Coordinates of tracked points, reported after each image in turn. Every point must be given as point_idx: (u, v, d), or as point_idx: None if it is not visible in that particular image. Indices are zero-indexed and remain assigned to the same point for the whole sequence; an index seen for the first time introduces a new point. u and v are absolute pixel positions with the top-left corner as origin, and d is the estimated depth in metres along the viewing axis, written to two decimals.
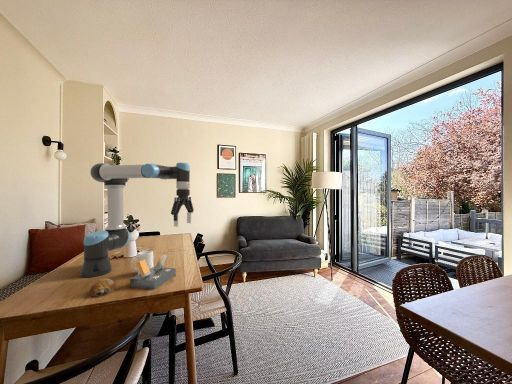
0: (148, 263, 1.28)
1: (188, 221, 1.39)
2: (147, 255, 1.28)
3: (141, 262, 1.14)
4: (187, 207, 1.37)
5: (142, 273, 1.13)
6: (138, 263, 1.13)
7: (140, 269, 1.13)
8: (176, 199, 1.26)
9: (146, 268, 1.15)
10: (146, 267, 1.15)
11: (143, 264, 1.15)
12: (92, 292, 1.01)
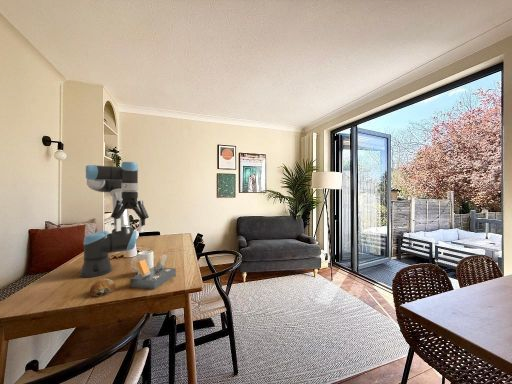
0: (148, 263, 1.28)
1: None
2: (147, 255, 1.28)
3: (141, 262, 1.14)
4: None
5: (142, 273, 1.13)
6: (138, 263, 1.13)
7: (140, 269, 1.13)
8: None
9: (146, 268, 1.15)
10: (146, 267, 1.15)
11: (143, 264, 1.15)
12: (92, 292, 1.01)
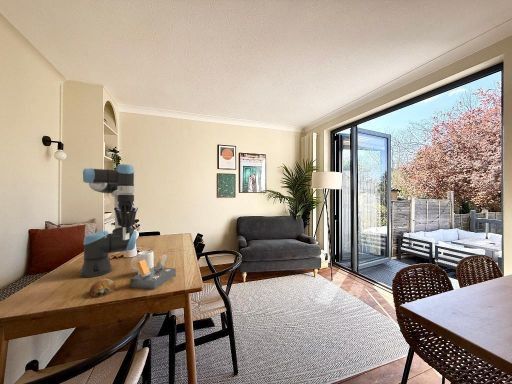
0: (148, 263, 1.28)
1: None
2: (147, 255, 1.28)
3: (141, 262, 1.14)
4: None
5: (142, 273, 1.13)
6: (138, 263, 1.13)
7: (140, 269, 1.13)
8: None
9: (146, 268, 1.15)
10: (146, 267, 1.15)
11: (143, 264, 1.15)
12: (92, 292, 1.01)
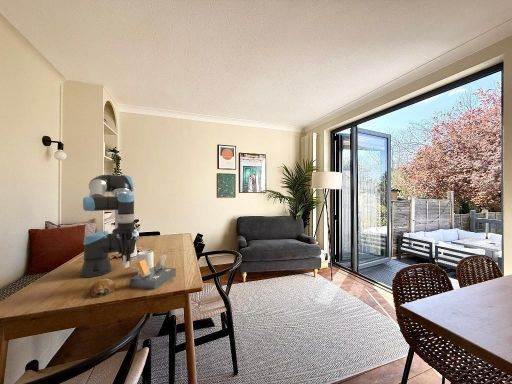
0: (148, 263, 1.28)
1: None
2: (147, 255, 1.28)
3: (141, 262, 1.14)
4: None
5: (142, 273, 1.13)
6: (138, 263, 1.13)
7: (140, 269, 1.13)
8: None
9: (146, 268, 1.15)
10: (146, 267, 1.15)
11: (143, 264, 1.15)
12: (92, 292, 1.01)
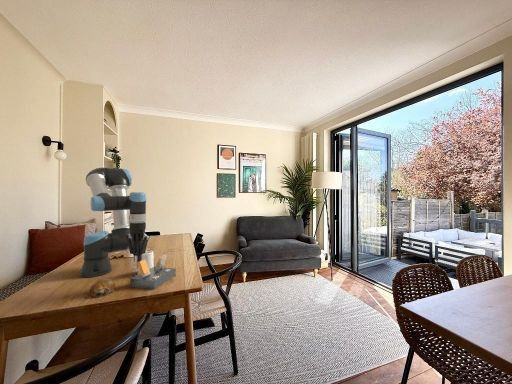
0: (148, 263, 1.28)
1: None
2: (147, 255, 1.28)
3: (141, 262, 1.14)
4: None
5: (142, 273, 1.13)
6: (138, 263, 1.13)
7: (140, 269, 1.13)
8: None
9: (147, 268, 1.15)
10: (146, 267, 1.15)
11: (143, 264, 1.15)
12: (92, 292, 1.01)
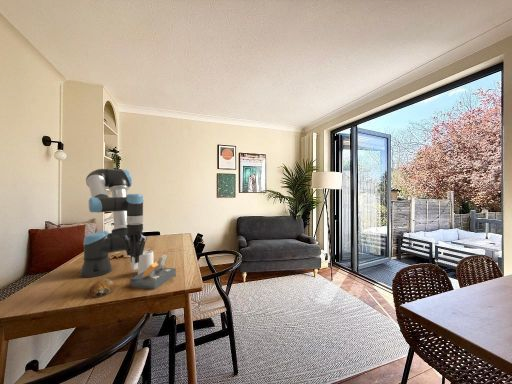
0: (148, 263, 1.28)
1: None
2: (147, 255, 1.28)
3: (153, 267, 1.12)
4: None
5: (145, 274, 1.12)
6: (151, 266, 1.12)
7: (147, 270, 1.12)
8: None
9: (151, 272, 1.15)
10: (152, 271, 1.15)
11: (153, 269, 1.13)
12: (91, 293, 1.01)
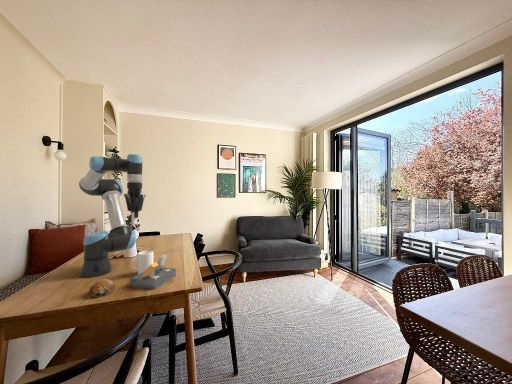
0: (148, 263, 1.28)
1: None
2: (147, 255, 1.28)
3: (153, 267, 1.12)
4: None
5: (145, 274, 1.12)
6: (151, 266, 1.12)
7: (147, 270, 1.12)
8: None
9: (151, 272, 1.15)
10: (152, 271, 1.15)
11: (153, 269, 1.13)
12: (91, 293, 1.01)
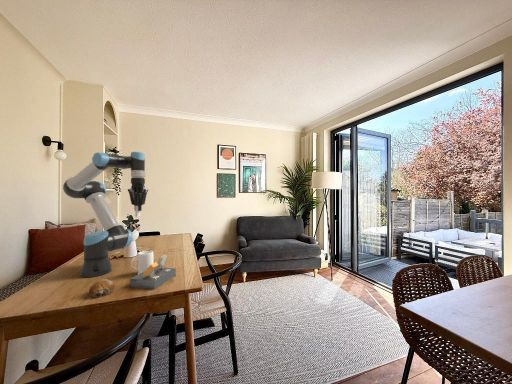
0: (148, 263, 1.28)
1: None
2: (147, 255, 1.28)
3: (153, 267, 1.12)
4: None
5: (145, 274, 1.12)
6: (151, 266, 1.12)
7: (147, 270, 1.12)
8: None
9: (151, 272, 1.15)
10: (152, 271, 1.15)
11: (153, 269, 1.13)
12: (91, 293, 1.00)
